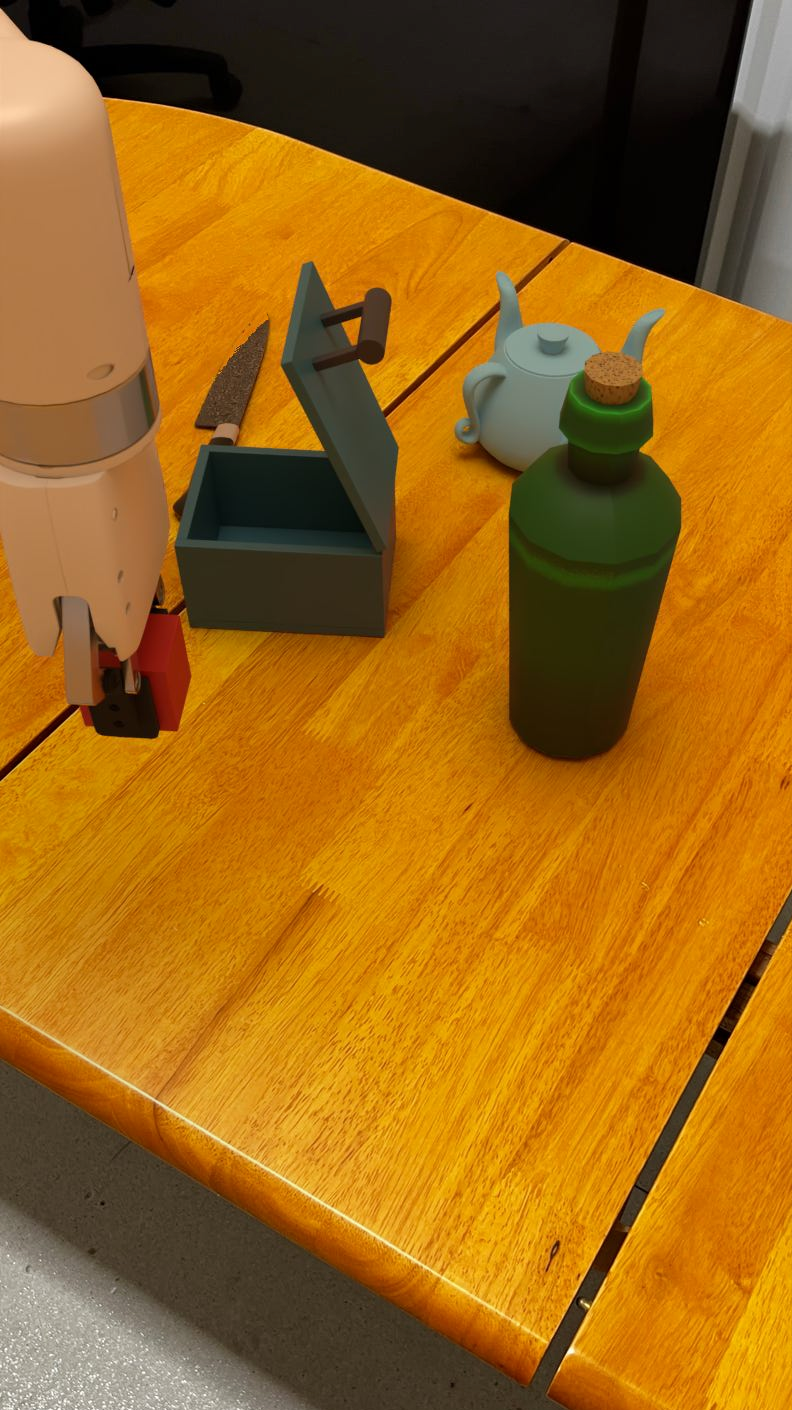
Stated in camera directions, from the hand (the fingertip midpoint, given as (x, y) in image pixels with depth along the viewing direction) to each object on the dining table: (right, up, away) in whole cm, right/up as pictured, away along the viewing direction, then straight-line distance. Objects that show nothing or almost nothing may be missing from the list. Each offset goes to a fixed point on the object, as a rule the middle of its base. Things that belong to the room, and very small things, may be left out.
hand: (137, 696), depth 68 cm
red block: (0, 0, 0) cm, 0 cm away
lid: (+8, +22, +21) cm, 32 cm away
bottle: (+24, +1, +26) cm, 35 cm away
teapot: (+24, +28, +46) cm, 59 cm away
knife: (-4, +30, +46) cm, 55 cm away
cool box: (+4, +13, +33) cm, 36 cm away
